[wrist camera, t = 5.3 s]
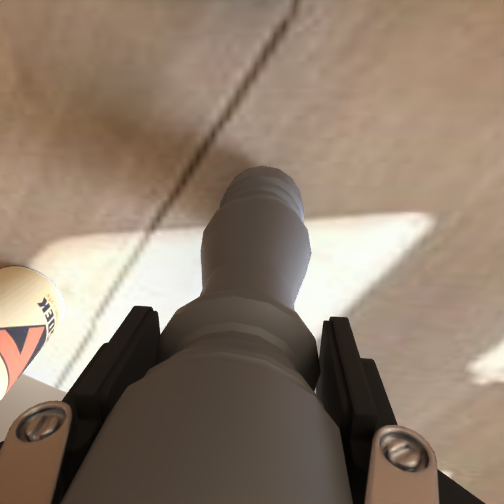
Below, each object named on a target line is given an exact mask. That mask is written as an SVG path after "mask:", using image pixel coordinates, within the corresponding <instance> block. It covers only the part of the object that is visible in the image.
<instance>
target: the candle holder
mask: <svg viewBox="0 0 504 504" xmlns="http://www.w3.org/2000/svg"><path fill="white" fill-rule="evenodd" d="M303 222H304V211H303V205H302V199H301V195H300V190H299V189H298V187H297V186H296V184H295V183H294V181H293V179H292V178H291V177H290V176H288V175H287V174H285V173H284V172H282V171H281V170H279V169H277V168H272V167H267V166H260V167H255V168H249V169H247V170H245V171H244V172H242V173H241V174H240V175H238V176H237V177H235V179H234V180H233V182H232V183H231V185H230V186H229V188H228V190H227V191H226V193H225V195H224V196H223V198H222V200H221V204H220V209H219V210H217V211H216V213H215V214H214V216H213V217H212V219H211V220H210V222H209V224H208V225H207V227H206V228H205V230H204V232H203V239H202V246H201V264H202V286H203V289H202V292H201V294H200V297H198V298H197V299H195V300H193V301H191V302H190V303H188V304H186V305H185V306H183V307H181V308H180V309H178V310H177V311H176V312H175V314H174V315H173V317H172V318H171V320H170V321H169V323H168V324H167V326H166V327H165V329H164V330H163V332H162V333H161V335H160V336H159V338H158V344H157V354H156V364H155V365H156V366H154V367H152V368H150V369H149V370H148V372H147V373H146V375H145V376H144V378H142V379H140V380H139V381H137V382H135V383H133V384H131V385H129V386H128V387H127V388H126V390H125V391H124V392H123V394H122V395H121V397H120V398H119V400H118V401H117V403H116V404H115V406H114V407H113V409H112V410H111V412H110V413H109V415H108V416H107V418H106V420H105V422H104V423H103V425H102V427H101V429H100V431H99V433H98V434H97V436H96V438H95V440H94V442H93V444H92V445H91V447H90V449H89V451H88V453H87V455H86V456H85V458H84V460H83V462H82V464H81V466H80V467H79V469H78V471H77V473H76V475H75V477H74V478H73V480H72V482H71V484H70V486H69V488H68V489H67V491H66V493H65V495H64V497H63V499H62V500H61V502H60V504H353V501H352V496H351V490H350V485H349V479H348V474H347V468H346V463H345V457H344V452H343V446H342V441H341V435H340V430H339V427H338V426H337V425H336V424H335V422H334V421H333V420H332V418H331V417H330V416H329V415H328V413H327V412H326V411H325V409H324V404H323V403H322V401H321V400H320V399H319V398H318V396H317V395H316V394H315V392H314V391H315V388H316V385H317V382H318V379H319V376H320V373H321V370H320V363H319V358H318V352H317V346H316V340H315V338H314V336H313V335H312V333H311V332H310V331H309V329H308V328H307V326H306V325H305V324H304V322H303V321H302V319H301V318H300V317H299V315H298V314H297V313H296V312H295V311H294V302H295V300H296V297H297V294H298V292H299V289H300V286H301V284H302V281H303V279H304V277H305V274H306V271H307V267H308V264H309V260H310V257H311V248H310V242H309V235H308V230H307V228H306V227H305V225H304V224H303Z"/></svg>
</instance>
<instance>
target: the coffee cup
mask: <svg viewBox="0 0 504 504" xmlns="http://www.w3.org/2000/svg"><path fill="white" fill-rule="evenodd" d="M64 313H65V305H64V300H63V298H62V295H61V293H60V291H59V290H58V288H57V287H56V286H55V285H54V283H53V282H51V281H50V280H49V279H48V278H47V277H45V276H44V275H42V274H41V273H39V272H37V271H35V270H32V269H29V268H25V267H20V266H12V267H5V268H2V269H0V400H1V399H2V398H3V396H4V395H5V394H6V393H7V391H8V390H9V389H10V388H11V386H12V385H13V384H14V383H15V381H16V380H17V379H18V378H19V376H20V375H21V374H22V373H23V371H24V370H25V369H26V368H27V366H28V365H29V364H30V363H31V361H32V360H33V359H34V357H35V356H36V355H37V354H38V352H39V351H40V350H41V349H42V347H43V346H44V345H45V343H46V342H47V341H48V340H49V338H50V337H51V336H52V335H53V333H54V332H55V331H56V329H57V328H58V326H59V325H60V324H61V322H62V320H63V317H64Z"/></svg>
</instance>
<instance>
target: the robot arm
mask: <svg viewBox="0 0 504 504" xmlns="http://www.w3.org/2000/svg"><path fill="white" fill-rule="evenodd" d="M159 336H160V327H159V317H158V312H157V311H153V308H152V307H148V306H134V307H133V308H132V310H131V311H130V313H129V314H128V315H127V317H126V318H125V320H124V321H123V322H122V324H121V325H120V327H119V328H118V330H117V331H116V332H115V334H114V335H113V337H112V338H111V339H110V341H109V342H108V343H104V344H103V345H102V346H101V347H100V349H99V350H98V351H97V353H96V354H95V356H94V357H93V358H92V360H91V361H90V362H89V364H88V365H87V367H86V368H85V369H84V371H83V372H82V374H81V375H80V376H79V378H78V379H77V380H76V382H75V383H74V385H73V386H72V387H71V389H70V390H69V392H68V393H67V394H66V396H65V397H64V398H63V400H62V401H48V402H44V403H40V404H38V405H36V406H33V407H31V408H29V409H28V410H26V411H25V412H24V413H22V414H21V415H20V416H19V417H18V418H17V419H16V420H15V421H14V422H13V424H12V425H11V427H10V428H9V431H8V433H7V436H6V438H5V440H4V441H2V442H0V504H60V502H61V500H62V499H63V497H64V495H65V493H66V491H67V489H68V488H69V486H70V484H71V482H72V480H73V478H74V477H75V475H76V473H77V471H78V469H79V467H80V466H81V464H82V462H83V460H84V458H85V456H86V455H87V453H88V451H89V449H90V447H91V445H92V444H93V442H94V440H95V438H96V436H97V434H98V433H99V431H100V429H101V427H102V425H103V423H104V422H105V420H106V418H107V416H108V415H109V413H110V412H111V410H112V409H113V407H114V406H115V404H116V403H117V401H118V400H119V398H120V397H121V395H122V394H123V392H124V391H125V390H126V388H127V387H128V386H129V385H131V384H133V383H135V382H137V381H139V380H140V379H142V378H144V376H145V375H146V373H147V372H148V370H149V369H150V368H152V367H154V366H156V365H155V364H156V354H157V344H158V338H159ZM319 363H320V370H321V373H320V376H319V379H318V382H317V385H316V395H317V396H318V398H319V399H320V400H321V401H322V403H323V404H324V409H325V411H326V412H327V413H328V415H329V416H330V417H331V418H332V420H333V421H334V422H335V424H336V425H337V426H338V427H339V430H340V435H341V441H342V446H343V452H344V457H345V463H346V468H347V474H348V479H349V485H350V490H351V496H352V501H353V504H485V503H484V502H482V501H481V500H479V499H478V498H477V497H475V496H474V495H473V494H471V493H470V492H468V491H467V490H466V489H464V488H463V487H461V486H460V485H459V484H457V483H456V482H455V481H453V480H452V479H450V478H449V477H448V476H446V475H445V474H443V473H442V472H441V471H439V470H438V469H437V460H436V456H435V452H434V451H433V449H432V447H431V446H430V444H429V443H428V442H427V441H426V440H425V439H424V438H423V437H422V436H421V435H419V434H418V433H416V432H415V431H413V430H411V429H408V428H406V427H403V426H398V425H397V422H396V419H395V416H394V414H393V411H392V408H391V405H390V403H389V400H388V397H387V394H386V392H385V389H384V386H383V383H382V381H381V378H380V375H379V372H378V369H377V367H376V364H375V362H374V360H373V359H365V358H360V355H359V352H358V349H357V346H356V343H355V339H354V336H353V333H352V330H351V327H350V323H349V320H348V318H347V317H330V319H329V321H324V322H323V329H322V338H321V346H320V355H319Z"/></svg>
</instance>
